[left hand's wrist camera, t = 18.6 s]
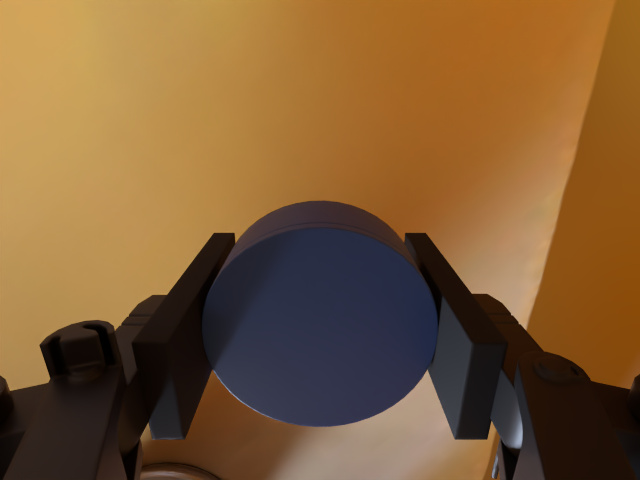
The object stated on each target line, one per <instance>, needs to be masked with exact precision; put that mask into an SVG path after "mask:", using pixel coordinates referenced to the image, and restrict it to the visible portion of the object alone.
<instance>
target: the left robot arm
mask: <svg viewBox="0 0 640 480" xmlns="http://www.w3.org/2000/svg"><path fill="white" fill-rule="evenodd" d="M404 244H405V246H406V247H407V249H408V251H409V253H410V254H411V256H412V258H413V260H414V261H415V263H416V265H417V267H418V269H419V270H420V272H421V274H422V276H423V277H424V279H425V281H426V283H427V284H428V286H429V288H430V290H431V293H432V295H433V298H434V300H435V304H436V308H437V313H438V336H437V343H436V349H435V352H434V356H433V358H432V360H431V363H430V365H429V367H428V372H429V374H430V377H431V379H432V382H433V385H434V387H435V390H436V392H437V395H438V397H439V400H440V403H441V405H442V408H443V410H444V413H445V415H446V418H447V421H448V423H449V426H450V428H451V431H452V433H453V436H454V438H455V439H487V438H488V434H489V429H490V425H491V420H492V422H493V424H494V426H495V428H496V430H497V432H498V433H499V435H500V440H499V444H498V448H497V452H496V457H495V461H494V465H493V470H492V476H491V477H492V478H495V479H497V475H498V471H499V474H500V480H640V374H639V375H638V376H637V377H635V379H634V381H633V384H632V386H631V389H625V388H620V387H616V386H611V385H606V384H602V383H597V382H593V381H591V380H590V378H589V377H588V375H587V374H586V373H585V371H584V370H583V369H582V368H580V367H579V366H578V365H576V364H575V363H574V362H572V361H570V360H568V359H566V358H564V357H562V356H559V355H556V354H552V353H549V352H544V351H543V350H542V349H541V348H540V346H539V345H538V344H537V343H536V342H535V341H534V339H533V338H532V337H531V336H530V335H529V334H528V333H527V331H526V330H525V329H524V328H523V327H522V326H521V324H519V323H518V321H517V320H516V319H515V318H514V316H513V315H511V313H510V312H509V311H508V309H507V308H506V307H505V306H504V305H503V304H502V303H501V302H500V301H498V300H496V299H495V298H493V297H491V296H490V295H488V294H471V292H470V291H469V290H468V288H467V287H466V286H465V284H464V283H463V282H462V280H461V279H460V278H459V276H458V275H457V274H456V272H455V271H454V270H453V268H452V267H451V266H450V264H449V263H448V262H447V260H446V259H445V258H444V257H443V255H442V254H441V253H440V251H439V250H438V249H437V247H436V246H435V245H434V243H433V242H432V241H431V239H430V238H429V237H428V235H427V234H426V233H405V242H404ZM234 245H235V233H214V234H213V235H212V236H211V238H210V239H209V240H208V242H207V243H206V244H205V246H204V247H203V248H202V250H201V251H200V252H199V254H198V255H197V256H196V257H195V259H194V260H193V261H192V263H191V264H190V265H189V267H188V268H187V269H186V271H185V272H184V273H183V275H182V276H181V277H180V279H179V280H178V281H177V283H176V284H175V285H174V287H173V288H172V289H171V291H170V292H169V293H168V295H152V296H151V297H149V298H147V299H146V300H144V301H142V302H141V303H139V304H138V305H137V306H136V307H135V308H134V310H133V311H132V312H131V313H130V314H129V317H127V318H126V319H125V320H124V321H123V322H122V325H121V326H119V327H118V328H117V329H116V330H114V326H113V325H111V324H110V323H109V322H106V321H100V320H92V321H83V322H79V323H75V324H71V325H69V326H66V327H64V328H61V329H59V330H57V331H56V332H54V333H52V334H51V335H49V336H48V337H46V338H45V340H44V341H43V342H42V343H41V344H40V348H41V351H42V354H43V357H44V360H45V363H46V366H47V369H48V372H49V375H50V378H51V379H50V381H49V383H46V384H42V385H37V386H32V387H27V388H23V389H18V390H13V391H10V390H9V387H8V385H7V382H6V380H5V379H4V378H3V377H1V376H0V480H219V479H218V478H216V477H215V476H213V475H211V474H209V473H208V472H205V471H203V470H201V469H198V468H195V467H191V466H187V465H182V464H172V463H162V464H153V465H148V466H144V467H142V458H143V450H142V444H141V440H140V437H141V435H142V433H143V431H144V429H145V427H146V425H147V424H148V422H149V426H150V430H151V435H152V439H153V440H164V439H185V438H186V435H187V433H188V430H189V428H190V425H191V422H192V420H193V417H194V415H195V412H196V410H197V407H198V404H199V402H200V399H201V397H202V394H203V392H204V389H205V386H206V384H207V381H208V379H209V376H210V374H211V371H212V367H211V365H210V363H209V361H208V358H207V355H206V352H205V349H204V345H203V338H202V314H203V308H204V304H205V301H206V298H207V295H208V293H209V291H210V289H211V287H212V285H213V283H214V281H215V279H216V277H217V275H218V274H219V272H220V270H221V268H222V266H223V265H224V263H225V261H226V259H227V257H228V256H229V254H230V252H231V250H232V249H233V247H234Z"/></svg>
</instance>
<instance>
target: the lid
mask: <svg viewBox="0 0 640 480" xmlns="http://www.w3.org/2000/svg"><path fill="white" fill-rule="evenodd" d="M437 336H438V313H437V308H436V304H435V300H434V298H433V295H432V293H431V290H430V288H429V286H428V284H427V283H426V281H425V279H424V277H423V276H422V274H421V272H420V270H419V269H418V267H417V265H416V263H415V261H414V260H413V258H412V256H411V254H410V253H409V251H408V249H407V247H406V246H405V244H404V242H403V241H402V240H401V238H400V237H399V236H398V235H397V233H396V232H395V231H394V230H393V229H392V228H391V227H389V226H388V225H387V224H386V223H385V222H383V221H382V220H381V219H379V218H378V217H376V216H375V215H373V214H371V213H369V212H367V211H365V210H363V209H360V208H358V207H355V206H352V205H348V204H344V203H340V202H332V201H307V202H301V203H295V204H292V205H288V206H285V207H282V208H280V209H277V210H275V211H273V212H271V213H269V214H267V215H266V216H264V217H262V218H261V219H259V220H258V221H257V222H255V223H254V224H253V225H252V226H250V227H249V228H248V229H247V230H246V231H245V232H244V234H243V235H242V236H241V237H240V238H239V240H238V241H237V242H236V244H235V245H234V247H233V249H232V250H231V252H230V254H229V256H228V257H227V259H226V261H225V263H224V265H223V266H222V268H221V270H220V272H219V274H218V275H217V277H216V279H215V281H214V283H213V285H212V287H211V289H210V291H209V293H208V295H207V298H206V301H205V304H204V308H203V314H202V338H203V345H204V349H205V352H206V355H207V358H208V361H209V363H210V365H211V367H212V369H213V371H214V373H215V374H216V375H217V377H218V378H219V380H220V381H221V383H222V384H223V385H224V386H225V387H226V388H227V389H228V390H229V392H230V393H232V394H233V395H234V396H235V397H236V398H237V399H238V400H240V401H241V402H243V403H244V404H245V405H247V406H248V407H250V408H251V409H253V410H255V411H257V412H259V413H261V414H263V415H265V416H268V417H270V418H273V419H275V420H279V421H282V422H286V423H290V424H295V425H301V426H312V427H330V426H338V425H345V424H350V423H354V422H358V421H361V420H364V419H367V418H370V417H372V416H374V415H377V414H379V413H381V412H383V411H385V410H386V409H388V408H390V407H392V406H393V405H395V404H396V403H397V402H399V401H400V400H401V399H403V398H404V397H405V396H406V395H407V394H408V393H409V392H410V391H411V390H412V389H413V388H414V387H415V386H416V385H417V384H418V382H419V381H420V380H421V379H422V377H423V375H424V374H425V372H426V371H427V369H428V367H429V365H430V363H431V360H432V358H433V356H434V352H435V349H436V343H437Z"/></svg>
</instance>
